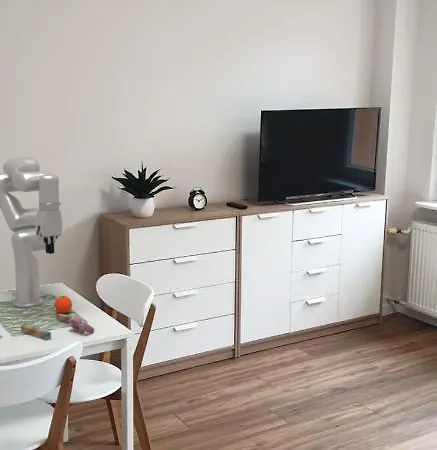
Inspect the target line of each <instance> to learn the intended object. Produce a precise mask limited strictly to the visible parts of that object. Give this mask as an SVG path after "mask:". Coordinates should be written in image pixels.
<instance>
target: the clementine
mask: <svg viewBox="0 0 437 450" xmlns="http://www.w3.org/2000/svg"><path fill="white" fill-rule="evenodd" d="M53 301H54V308H55V310H56V312H59V314H60V313H61V314H65V313H69V312H70V310H71V309H72V307H73V302H72V299H71V298H70V297H69V296H67V295H58V296H57V297H56V298H54V299H53Z"/></svg>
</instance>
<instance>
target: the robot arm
mask: <svg viewBox="0 0 437 450" xmlns="http://www.w3.org/2000/svg"><path fill="white" fill-rule="evenodd" d="M2 170H3V172H0V211H1V212H2V215H3V217H4V220H5V222H6V224H7V227H8V228H9V230H10V231H11V232H13V233H12V235H11V239H10V240H11V246H12V250H13V257H14V259H13V260H14V274H15V291H14V292H12V293H11V295H12V296H13V297H14V298H15V299H14V300H13V301H12V305H13V306H14V307H17V308H32V307H37V306H41V305H42V304H44V303H45V302H44V301H45V300H44V298H43V297H41V291H40V270H39V269H40V266H39V261H38V258H37V257H36V256H35V254H33V253H34V252H38V251H45V253H46V254H50V255H52V254H55V244H56V243H57V242H56V240H58V238H60V237H61V236H62V233H63V216H62V213H61V209H60V206H61V204H62V203H61V202H60V182H59V181H60V180H59V177H58V175H57V174H53V173H52V172H51V171H47V170H45V171H43V170H41V167H40V164H39V161H38V160H37V159H36V158H34V157H31V156H29V157H13V158H9V159H7V160H5V162H4V164H3V165H2ZM13 192H14V193H15V192H22V193H31V192H38V208H36V207H35V208H34V207H33V208H24V207H23V205H22V203H21V200H19V199H18V198H17V197H16V196H15V195H13V194H11V193H13Z"/></svg>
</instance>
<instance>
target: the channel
mask: <svg viewBox="0 0 437 450" xmlns="http://www.w3.org/2000/svg"><path fill="white" fill-rule="evenodd" d="M55 315H56V317H55V318H56V321H57V322H60V323H63V324H67V325H69V324H68V320H69V319H71V318H72V317H74V318H75V316H72V315H68V314H65V313H60V312H59V313H57V314H55ZM81 319H82V320H84V321H85V322H86V319H83V318H81ZM86 323H87V322H86ZM20 333H22V334H24V335H28V336H31V337H35V338H39V339H41V340H44V341H48V340H51V339H52V333H51V331H48V330H45V329H41V328H38V327H35V326H31V325H28V324H23V325H20Z"/></svg>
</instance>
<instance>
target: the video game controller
mask: <svg viewBox="0 0 437 450" xmlns="http://www.w3.org/2000/svg"><path fill="white" fill-rule="evenodd" d="M74 317H75V316H72V318H71V319H69V320H68V324H67V325H68V326H69V327H71V328H72V329H73V330H74V331H75V332H79V333H81V334H84V333H88V334H94V332H95V328H94V327H93V326H91V325H90V324H89V323H88V322H85V321H84V320H85V319H83V318H82V317H81V318H80V317H79V316H77V317H75V318H74ZM82 319H83V320H82Z"/></svg>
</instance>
